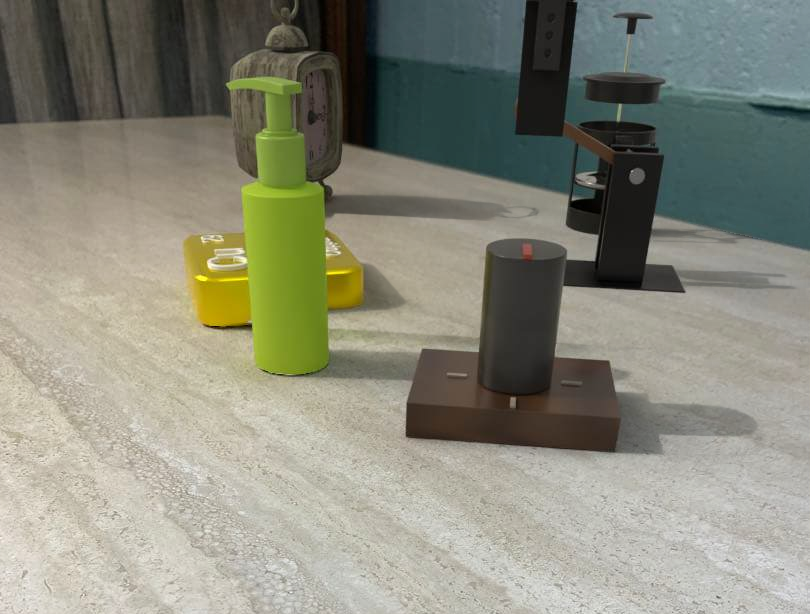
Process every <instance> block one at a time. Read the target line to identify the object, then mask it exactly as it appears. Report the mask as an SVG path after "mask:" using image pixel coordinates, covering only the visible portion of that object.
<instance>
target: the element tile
mask: <svg viewBox="0 0 810 614" xmlns="http://www.w3.org/2000/svg"><path fill="white" fill-rule="evenodd" d="M325 239H326V273H327V306H328V310H338V309H349V308H354V307H358V306H360V305H362V304H363V303H364V266H363V264H362V263H361V262H360V260H359V259H358V258H357V257H356V256H355V255H354V254H353V252H351V250H350V249H349V248H348V247H347V246H346V244H345V243H344V242H343V241H342V240H341V239H340V238H339V237H338V235H337V234H335V233H334V232H332V231H331V230H328V229H326V228H325ZM182 251H183V258H184V267H185V277H186V283H187V287H188V290H189V294H190V296H191V300H192V304H193V307H194V311H195V314H196V318H197V320H198V321H199V323H200V324H202V323H203V324H202V325H204V324H206V325H209V326H208V327H210V326H220V327H219V328H227V327H226V326H235V327H244V326H243V325H248V326H252V322H250V320H251V319H252V317H251V305H250V292H249V280H248V267H247V255H246V242H245V232H232V233H214V234H213V233H212V234H196V235H194V234H193V235H190V236H188V237H186V239H185V240H183V242H182ZM206 325H205V326H206Z"/></svg>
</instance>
